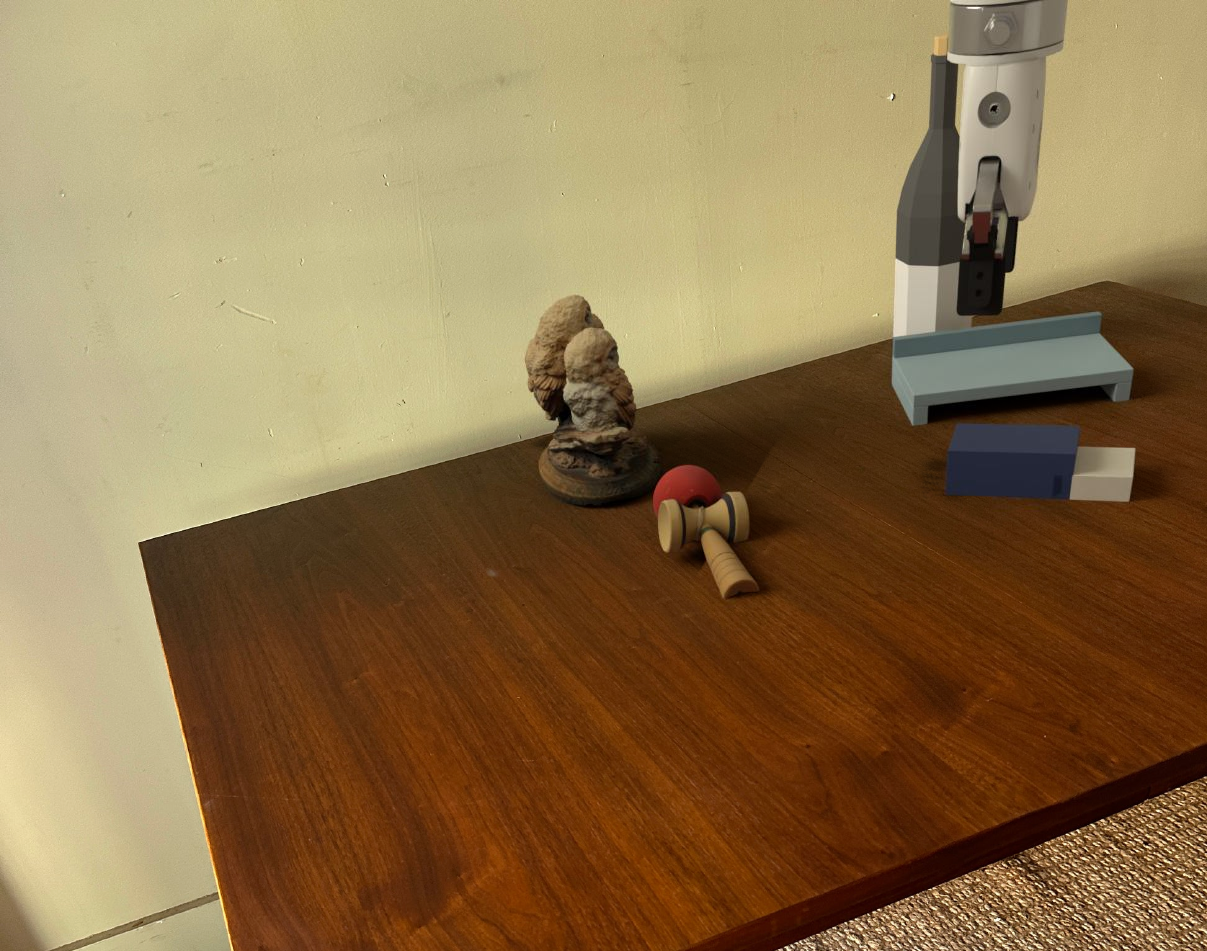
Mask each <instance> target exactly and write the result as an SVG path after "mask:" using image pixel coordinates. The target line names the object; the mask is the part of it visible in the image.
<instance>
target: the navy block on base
mask: <svg viewBox="0 0 1207 951" xmlns="http://www.w3.org/2000/svg"><path fill="white" fill-rule="evenodd" d="M1080 433H1081V425H1060V424H1059V425H1058V424H1057V425H1055V424H1054V425H1052V424H1006V423H1005V424H1003V423H1001V424H1000V423H999V424H998V423H956V425H955V429H954V431H953V435H952V437H951V440H950V443H949V446H948V449H947V456H946V457H947V459H946V473H945V490H944V491H945V492H944V495H945V496H971V497H996V498H1021V499H1043V500H1045V499H1047V500H1069V501H1070V500H1075V501H1097V502H1098V501H1099V502H1101V501H1102V502H1125V503H1128V502H1130V499H1131V494H1132V487H1133V481H1134V472H1135V460H1136V448H1135V447H1115V446H1114V447H1113V446H1112V447H1109V446H1079V441H1080V435H1081V434H1080Z"/></svg>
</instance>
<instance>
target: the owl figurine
mask: <svg viewBox="0 0 1207 951" xmlns="http://www.w3.org/2000/svg"><path fill="white" fill-rule="evenodd" d="M618 349H619V347H618V342H617V341H616V339H615V338H614V336H612V333H610V331H608V330H606V329H605V326H604V323H603V321H602V320H601V318H599V316H598V315H597V314H595V313H592V309H591V304H590V303H589V301H588V300H586V299H585V297H584V296H580V295H579V294H578V295H576V294H572V295H566V296H565V297H562V298H560V299H558V300H557V301H555V302H554V303H553V304H552V305H551V306H549V307H548V309H546V310H545V311H544V313H543V314H542V316H541V317H539V322H538V325H537V328H536V330H535V334H534V337H533V338H531V339H530V340H529V342H528V344H527V346H526V350H525V356H524V363H525V368H526V372H527V376H528V378H527V383H526V384H527V389H528V391H529V392H530V393H533V396H534V399H535V401H536V402H537V404H538V406H539V407H540V408H541V410H543V412H545V415H544V416H545V417H544V418H545V419H546V420H548V421H552V422H556V420H557V422H558V424H557V425H556V428H555V429H554V433H553V439H552V440H550V442H549V444H548V446H546V448H545V449H544V450H543V451H542V452H541V454H540V456H539V460H538V472H539V478H540V480H541V482H542V484H543V485H544V487H545V488H546V490H547V492H548V493H549V494H551V495H552V496H553V497H555V498H557V499H559V500H561V501H563V502H566V503H569V504H572V505H576V506H588V505H590V504H592V505H593V506H597V505H598V506H599V507H601V506H602V504H608V503H611V502H616V501H620V500H623V499H632V498H637V497H642V496H643V495H645V494H646V493H648V492H650V491H651V490H653V488H654V487H656V485H657V484H658V482H659V479H660V476H661V474H662V473H661V468H662V465H661V457H660V454H659V452H658V450H657V449H656V447H655V446H654V445H653V443H651V442H650V441H649V440H648V438H647V437H646V436H642V435H641V434H640V433H639V432H638V430H637V429H636V428H635V427H634V425H635V423H636V412H637V411H638V409H637V404H636V403H635V396H634V393H633V392H634V389H633V385H632V383H631V382H630V380H629V377H628V375H627V374H626V370H625V369H623V368H622V367H621V366H620V364H619V361H620V355H619V352H618ZM596 455H601V456H604V457H602V458H601V457H598V456H596Z"/></svg>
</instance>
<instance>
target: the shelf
mask: <svg viewBox="0 0 1207 951" xmlns="http://www.w3.org/2000/svg"><path fill="white" fill-rule="evenodd" d="M1102 319H1103V314H1102V313H1101V312H1100V311H1098V310H1097V311H1092V312H1083V313H1075V314H1067V315H1059V316H1052V317H1051V316H1050V317H1043V318H1036V319H1035V318H1034V319H1026V320H1019V321H1011V322H1003V323H994V324H987V325H986V324H985V325H978V326H971V327H969V328H961V329H953V330H945V331H937V332H929V333H921V334H913V335H905V336H897V337H893V336H892V357H891V358H892V359H891V361H892V362H891V366H892V367H891V386H892V388H893V390H894V392H895V394H896V396H897V398H898V400H899V402H900V404H901V405H902V408H903V409H904V412H905V414H906V416H907V418H908V420H909V421H910V423H911V425H912V426H921V425H927V424H928V417H929V407H931V406H937V405H945V404H953V403H962V402H971V401H978V400H987V399H995V398H996V399H997V398H1005V397H1013V396H1020V395H1029V394H1037V393H1038V394H1039V393H1047V392H1054V391H1055V392H1056V391H1062V390H1063V391H1064V390H1071V389H1078V388H1079V389H1080V388H1088V387H1095V386H1099V387H1100V388H1101V389H1102V390H1103V391H1104V393H1105V394H1107V396H1108V397H1109V398H1110V400H1112V401H1113V403H1114V402H1115V403H1117V402H1126V401H1130V397H1131V389H1132V384H1133V383H1132V382H1133V377H1134V370H1135V369H1134V367H1132V365H1131V364H1130V363H1129V362H1128V361H1127V360H1126V359H1125V358H1124V357H1123V356H1122V354H1120V353H1119V352H1118V351H1117V350H1116V349H1115V347H1113V346H1112V345H1111V344H1110V342H1108V341H1107V339H1106V338H1105V337H1104V336H1103V335H1102V334H1101V328H1102V327H1101V325H1102Z"/></svg>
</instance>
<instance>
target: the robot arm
mask: <svg viewBox="0 0 1207 951" xmlns="http://www.w3.org/2000/svg"><path fill="white" fill-rule="evenodd" d="M949 2H950V3H949V16H948V17H949V18H948V33H949V35H948V53H947V60H948V61H950V62H952V63H956V64H958V65H963V77H962V80H963V81H962V95H961V108H960V109H961V110H960V123H959V124H960V126H959V136H960V142H959V168H958V218H959V219H960V220H961V221H963V222H964V223H966V226H965V234H964V242H963V250H962V257H960V261H959V277H958V294H957V310H956V311H957V314H958V315H960V316H972V317H980V316H981V317H985V316H990V317H991V316H992V317H993V316H999V315H1000V314H1001V313H1002V311H1003V308H1004V307H1003V306H1004V297H1005V284H1006V274H1009V273H1010V274H1011V273H1012V272H1013V271H1014V269H1015V266H1016V255H1017V242H1018V232H1019V222H1024V221H1025V220H1026V219H1027V218H1028V217H1029V215H1030V214H1031V212H1032V208H1033V206H1034V205H1033V204H1034V201H1035V197H1036V195H1037V189H1038V179H1039V178H1038V177H1039V176H1038V175H1039V163H1040V152H1041V140H1042V132H1043V131H1042V130H1043V121H1044V110H1045V108H1044V107H1045V95H1046V81H1047V80H1046V78H1047V77H1046V76H1047V57H1050V56H1052V55H1055V54H1057V53H1060V52H1061V51H1063V49H1064V44H1065V43H1064V42H1065V32H1066V22H1067V11H1068V3H1069V0H949Z"/></svg>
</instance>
